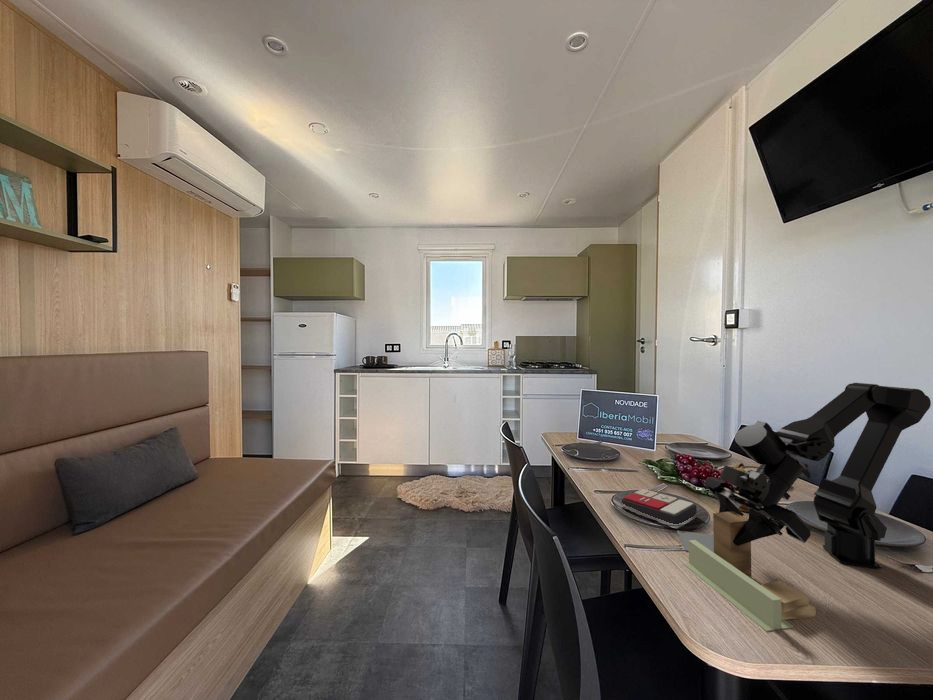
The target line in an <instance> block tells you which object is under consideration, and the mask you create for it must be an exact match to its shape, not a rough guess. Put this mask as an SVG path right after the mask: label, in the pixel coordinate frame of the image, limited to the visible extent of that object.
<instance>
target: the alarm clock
mask: <svg viewBox="0 0 933 700" xmlns="http://www.w3.org/2000/svg"><path fill="white" fill-rule="evenodd" d="M731 467H732V468H734V469H737V470H739V471H742V472H745V473H746V472H747V471H748V470H753V471H756V470H757V469H758V467H759V466H754V465H744V463H742V462H737V463H735V465H734V466H731Z"/></svg>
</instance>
